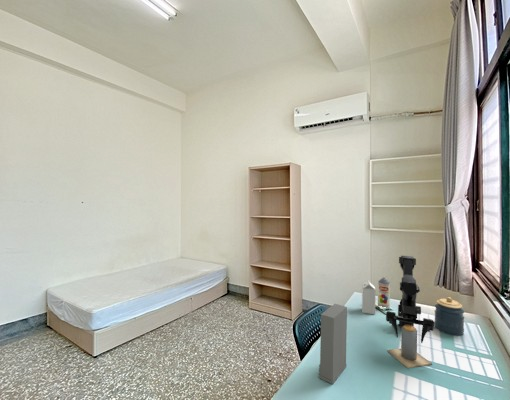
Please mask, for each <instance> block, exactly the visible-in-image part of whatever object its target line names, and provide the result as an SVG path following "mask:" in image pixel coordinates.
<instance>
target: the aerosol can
mask: <svg viewBox="0 0 510 400" xmlns="http://www.w3.org/2000/svg"><path fill="white" fill-rule="evenodd" d="M377 285H378V286H377V307H378V306H382V307H386V308H389V309H390V305H391V301H390V300H391V296H390V295H391V283H390V281H388V279H387V277H386V276H382V278H381V279H379V280H378V282H377Z"/></svg>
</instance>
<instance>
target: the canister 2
mask: <svg viewBox="0 0 510 400" xmlns="http://www.w3.org/2000/svg"><path fill="white" fill-rule="evenodd" d="M434 307H435V310H434V320H433V321H434V329H436V330H437V331H439V332H442V333H444V334H447V335H451V336H462V335H464V332H465V326H464V325H465V324H464V323H465V316H464V313H465V309H464V308H463V305H462V304H461V303H460V302H458V301H457V300H454V299H452V297H450V296H448V297H446V298H440V299H437V300H436V303H434Z"/></svg>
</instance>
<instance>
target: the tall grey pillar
mask: <svg viewBox="0 0 510 400" xmlns="http://www.w3.org/2000/svg"><path fill="white" fill-rule="evenodd" d="M347 319H348V307H347V306H345V305H341V304H338V303H333V305H331V306H330V307H329V308H327V309H326V310H324V312H322V313H321V314H320V349H319V350H320V351H319V352H320V353H319V356H320V357H319V359H320V360H319V364H318V372H319V373H318V377H317V378H318V379H320V380H322V381H325V382H326V383H329V384H331V385H334V384H335V382H336V381H337V379H339V377H340V376H341V374H342V373H343V372H344V370H345V369H346V368H347V334H348V333H347V329H348V320H347Z"/></svg>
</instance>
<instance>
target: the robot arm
mask: <svg viewBox="0 0 510 400" xmlns="http://www.w3.org/2000/svg"><path fill="white" fill-rule="evenodd" d="M398 264H399V267H400V269H401V270H402V277H401V281H400V282H399V291H401V292H402V295H401V299H400V300H399V304H397V315H396V311H390V310H386V312H385V320H386V322H388V323H389V324H390V325H391V326H392V327H393V330H394V332H395V336H396V338H399V331H398V327H400V328H401V329H402V326H404V325H411V326H414V325H420V326H422V328H421V336H420V337H421V338H420V343H421V344H423V342H424V339H425V336H426V334H427V333H430V332H431V331H434V330H435V325H434V321H435V320H434V319H431V318H426V317H422V320H421V319H418V315H421V314H422V307H421V306H418V305H417V301H416V300H417V295H418V294H419V293H420V291H421V290H420V287H419V285H418V284H417V281H416V279H415V277H414V271H413V270H415V269H414V268H415V266H417V259H416V258H414V256H411V255H401V256H399V257H398ZM397 321H398V322H397ZM414 327H415V326H414ZM415 329H416V330H417V328H416V327H415Z"/></svg>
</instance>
